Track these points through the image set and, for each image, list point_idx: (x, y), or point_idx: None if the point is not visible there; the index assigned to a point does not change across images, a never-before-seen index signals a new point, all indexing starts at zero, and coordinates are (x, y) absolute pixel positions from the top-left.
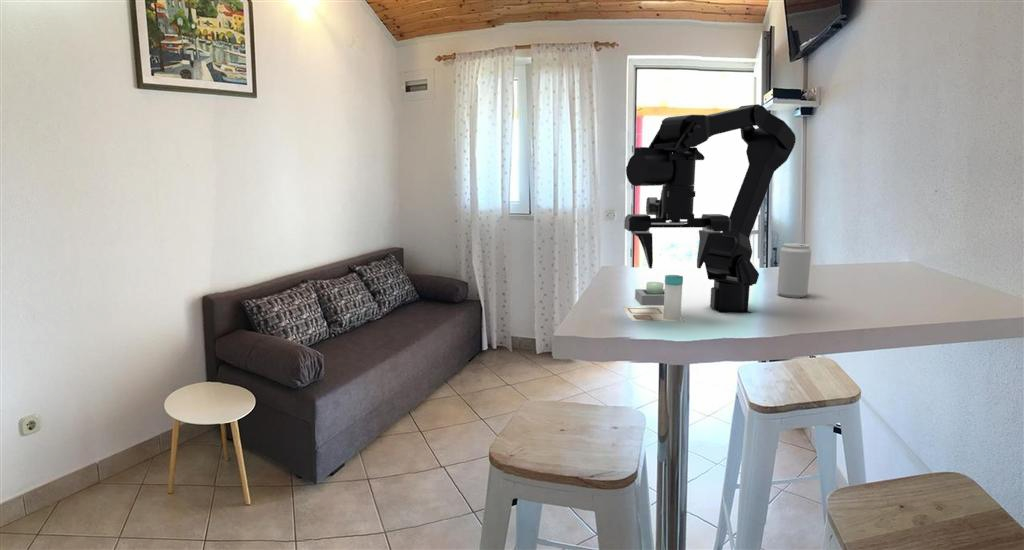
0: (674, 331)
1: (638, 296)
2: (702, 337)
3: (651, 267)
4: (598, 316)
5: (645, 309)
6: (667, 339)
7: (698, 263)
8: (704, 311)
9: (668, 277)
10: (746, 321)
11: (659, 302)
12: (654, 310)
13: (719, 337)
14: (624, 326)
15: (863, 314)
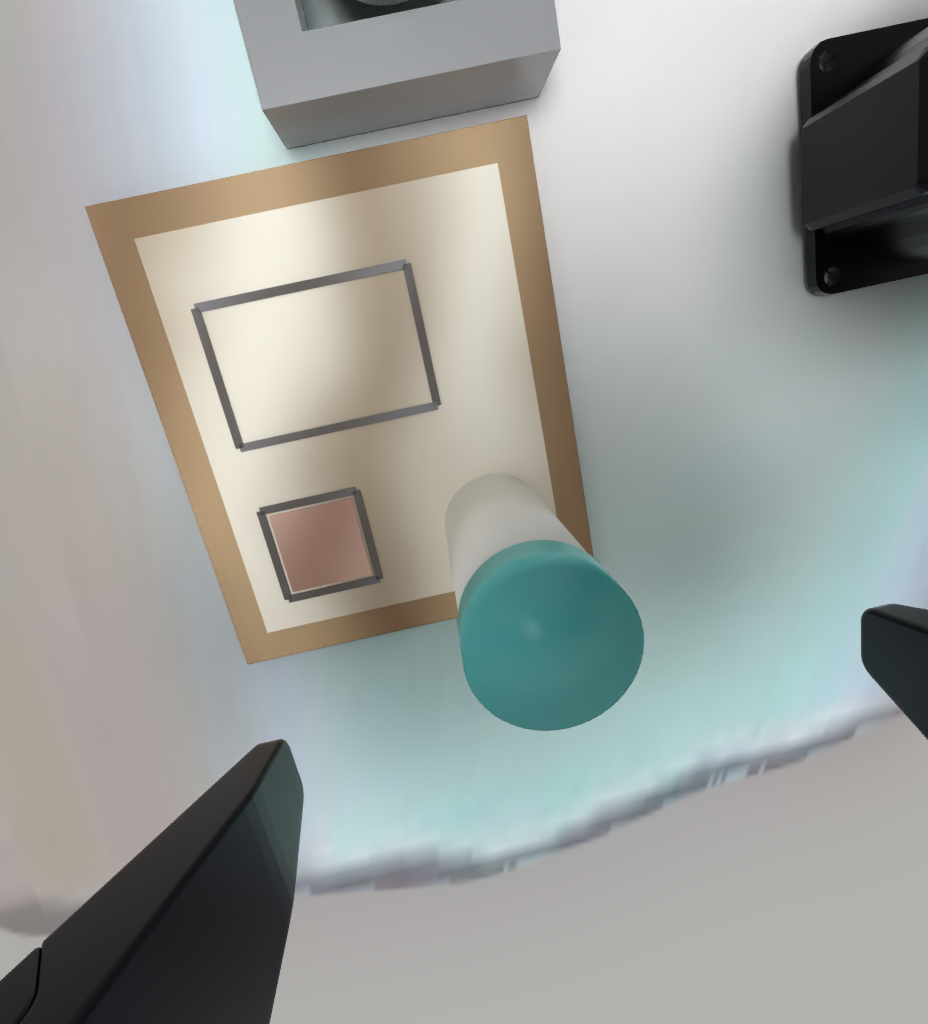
0: (493, 721)
1: None
2: (609, 783)
3: (297, 805)
4: (38, 510)
5: (324, 308)
6: (454, 847)
7: (909, 692)
8: (733, 197)
9: (494, 713)
10: (911, 430)
11: (424, 104)
12: (388, 329)
13: (683, 765)
14: (237, 694)
15: None
